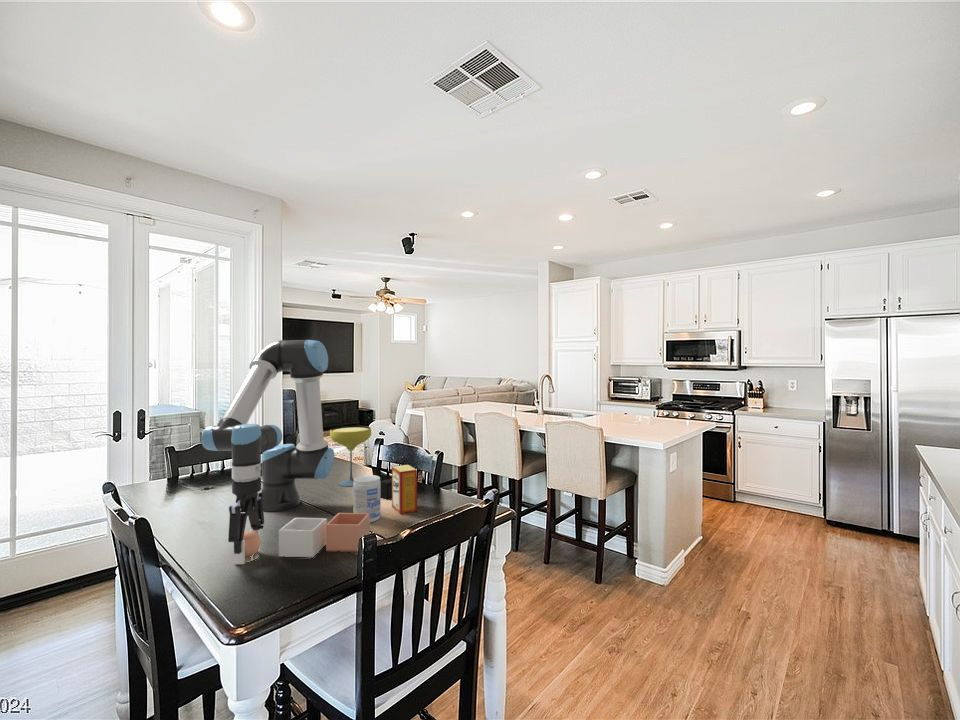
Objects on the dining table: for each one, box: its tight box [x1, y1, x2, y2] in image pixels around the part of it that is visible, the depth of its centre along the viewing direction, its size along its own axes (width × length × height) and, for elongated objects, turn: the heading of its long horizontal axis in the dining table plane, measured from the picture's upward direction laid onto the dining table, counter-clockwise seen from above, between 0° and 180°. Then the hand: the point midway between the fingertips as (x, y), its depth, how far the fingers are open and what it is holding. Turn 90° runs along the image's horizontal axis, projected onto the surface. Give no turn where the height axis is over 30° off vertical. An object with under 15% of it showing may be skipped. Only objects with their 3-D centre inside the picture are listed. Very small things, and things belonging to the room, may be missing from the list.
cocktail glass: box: [329, 425, 372, 488], centre depth 209 cm, size 18×18×25 cm
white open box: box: [278, 517, 328, 559], centre depth 138 cm, size 10×10×8 cm
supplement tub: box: [352, 474, 382, 523], centre depth 164 cm, size 10×10×15 cm
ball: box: [243, 530, 262, 557], centre depth 133 cm, size 7×7×7 cm
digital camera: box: [380, 477, 392, 501], centre depth 190 cm, size 10×5×7 cm, turn 143°
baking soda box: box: [391, 464, 418, 515], centre depth 175 cm, size 10×6×16 cm
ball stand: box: [245, 551, 259, 562], centre depth 133 cm, size 6×6×1 cm
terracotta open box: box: [325, 512, 371, 553], centre depth 142 cm, size 10×10×8 cm
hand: (247, 557), depth 133 cm, fingers closed on ball, 7 cm apart
